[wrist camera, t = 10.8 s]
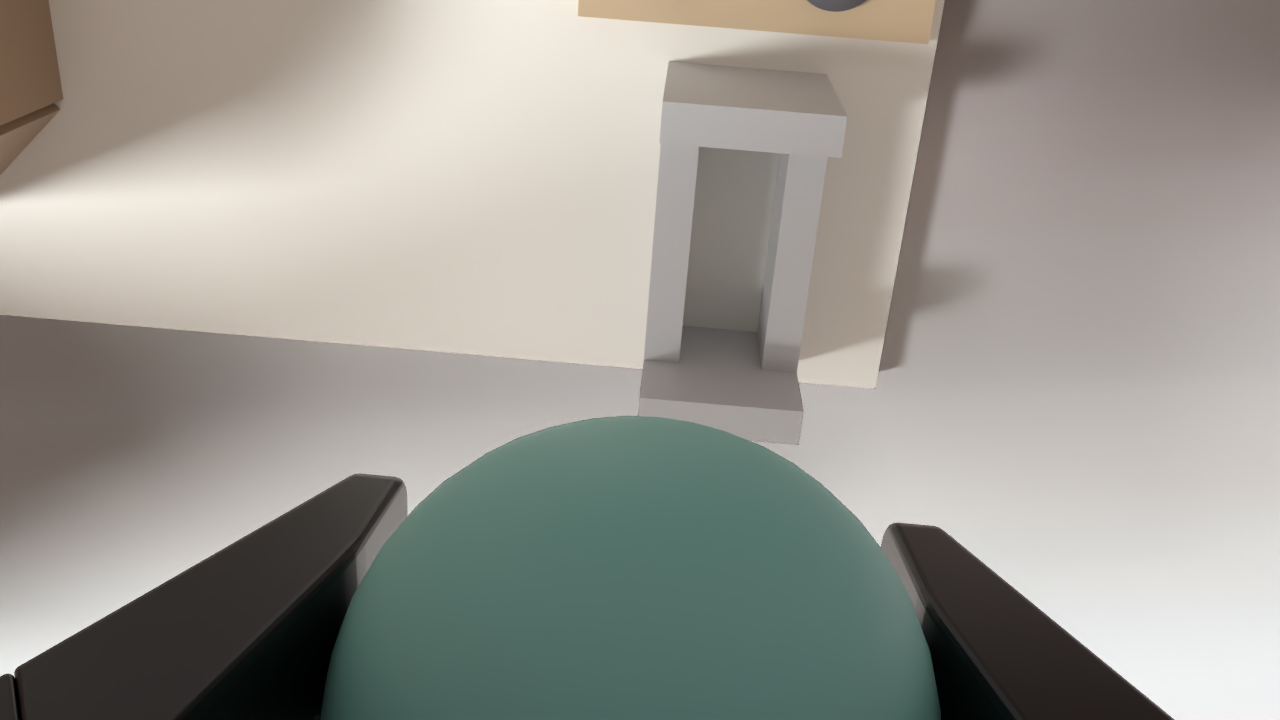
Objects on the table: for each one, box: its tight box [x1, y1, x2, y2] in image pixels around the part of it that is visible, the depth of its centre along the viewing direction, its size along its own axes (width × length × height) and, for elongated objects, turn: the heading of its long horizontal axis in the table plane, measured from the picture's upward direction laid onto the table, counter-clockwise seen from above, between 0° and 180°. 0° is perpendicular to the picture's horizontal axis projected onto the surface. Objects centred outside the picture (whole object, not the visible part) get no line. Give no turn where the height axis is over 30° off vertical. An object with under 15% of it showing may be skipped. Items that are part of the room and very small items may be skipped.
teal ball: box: [320, 416, 941, 720], centre depth 8 cm, size 4×4×4 cm
